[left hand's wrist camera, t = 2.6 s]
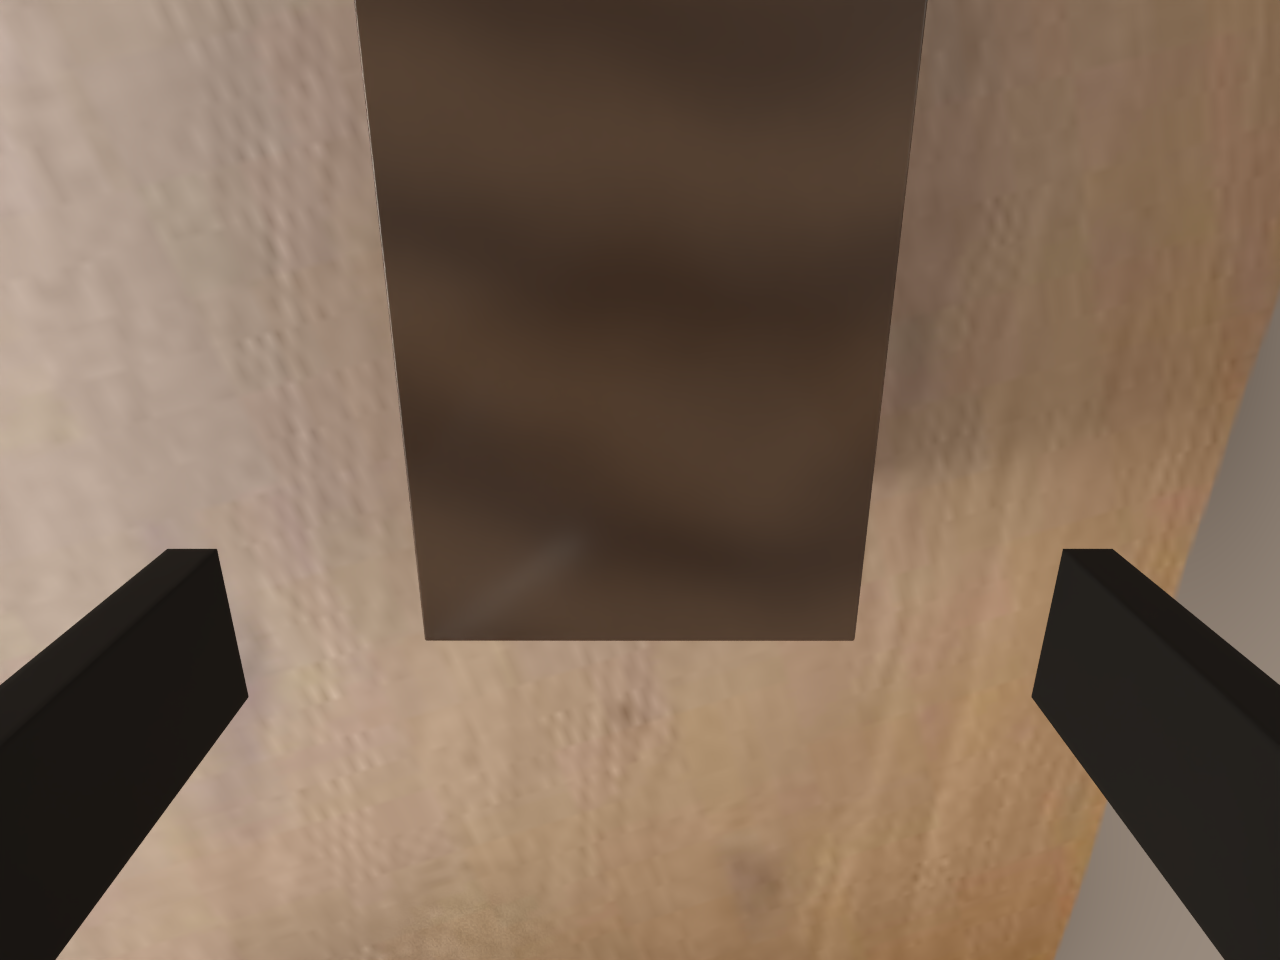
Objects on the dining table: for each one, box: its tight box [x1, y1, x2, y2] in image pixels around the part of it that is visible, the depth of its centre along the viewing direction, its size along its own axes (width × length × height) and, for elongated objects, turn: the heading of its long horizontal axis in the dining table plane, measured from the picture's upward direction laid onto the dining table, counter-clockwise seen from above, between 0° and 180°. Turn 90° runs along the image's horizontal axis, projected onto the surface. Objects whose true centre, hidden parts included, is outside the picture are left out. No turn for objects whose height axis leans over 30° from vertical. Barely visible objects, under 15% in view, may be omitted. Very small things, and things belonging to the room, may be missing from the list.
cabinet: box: [354, 0, 927, 641], centre depth 21 cm, size 18×10×10 cm, turn 0°
